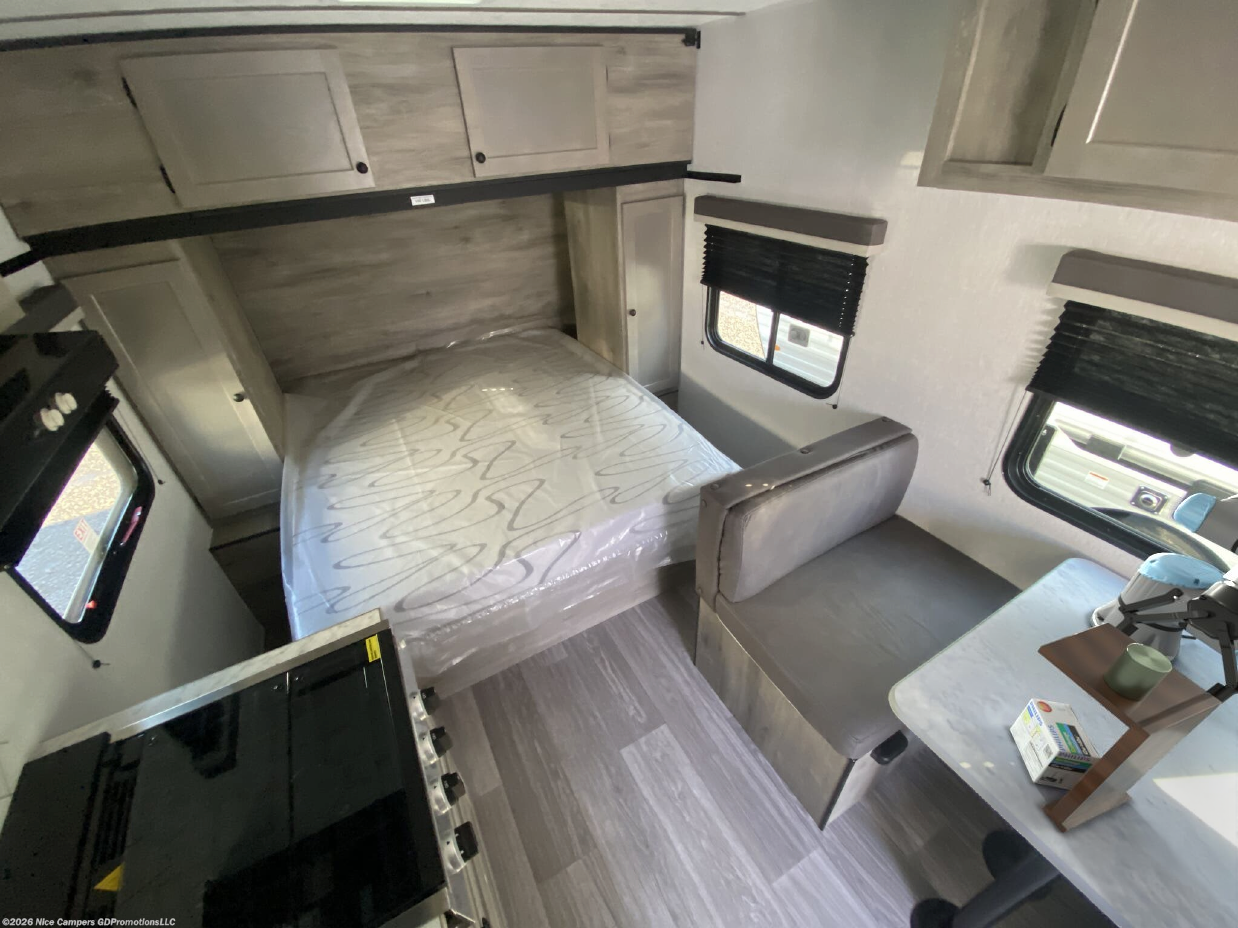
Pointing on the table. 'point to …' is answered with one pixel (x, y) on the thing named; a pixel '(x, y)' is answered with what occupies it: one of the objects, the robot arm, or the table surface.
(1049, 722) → the light bulb box
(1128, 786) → the shelf stand
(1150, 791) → the table surface
